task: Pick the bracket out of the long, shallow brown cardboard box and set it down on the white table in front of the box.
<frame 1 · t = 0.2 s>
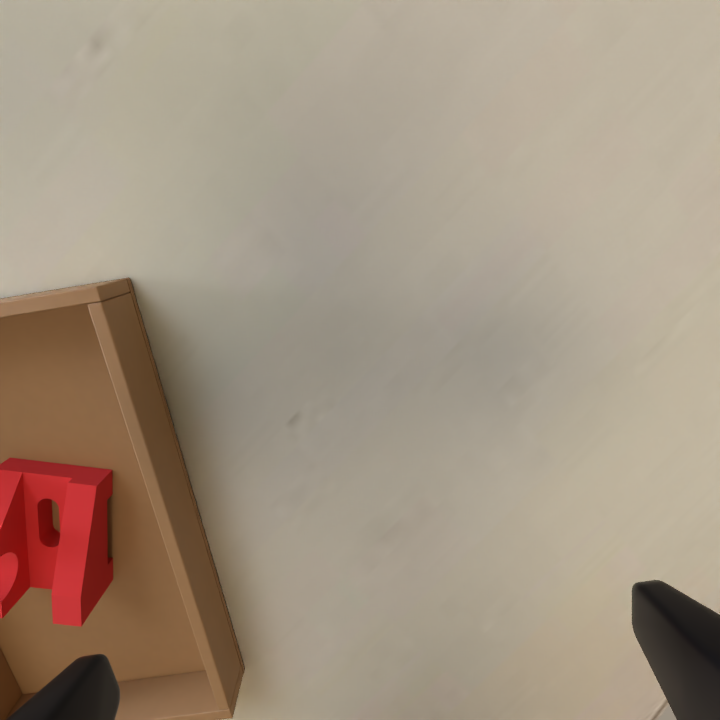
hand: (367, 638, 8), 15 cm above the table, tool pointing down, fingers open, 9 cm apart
cardboard box: (67, 517, 24), on the table
bracket: (66, 518, 24), resting in cardboard box
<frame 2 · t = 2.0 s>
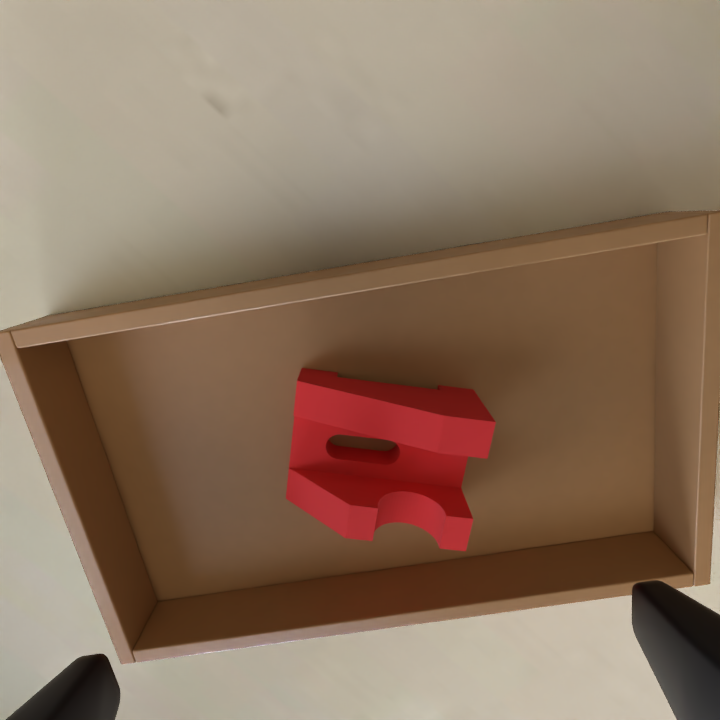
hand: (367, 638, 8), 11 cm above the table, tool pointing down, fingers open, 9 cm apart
cardboard box: (378, 434, 19), on the table
bracket: (378, 435, 19), resting in cardboard box
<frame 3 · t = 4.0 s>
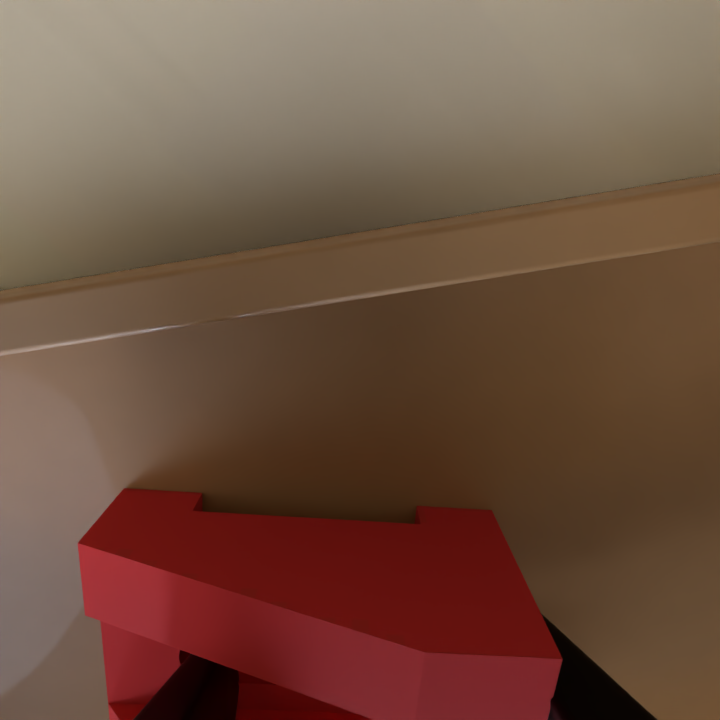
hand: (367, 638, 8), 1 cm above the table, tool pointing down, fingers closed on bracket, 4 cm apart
cardboard box: (357, 587, 9), on the table
bracket: (305, 602, 9), resting in cardboard box, touching gripper
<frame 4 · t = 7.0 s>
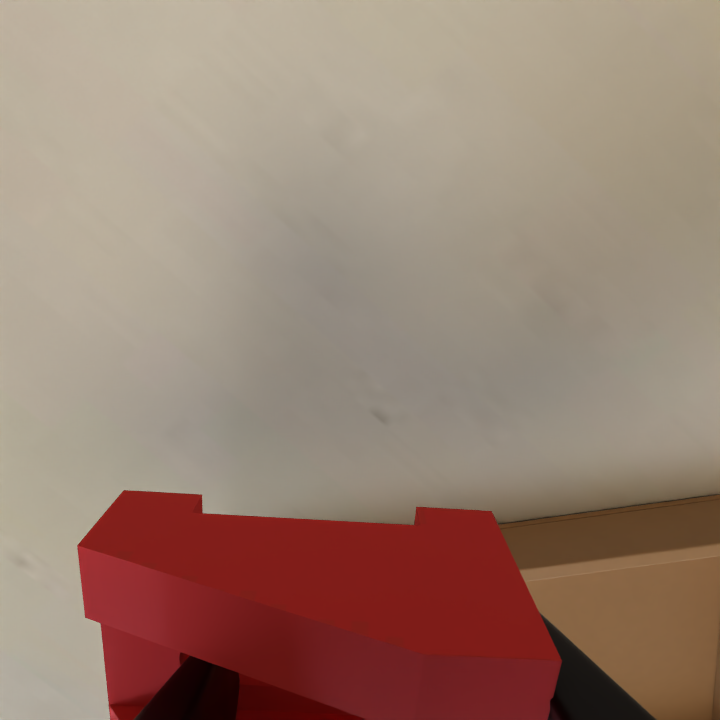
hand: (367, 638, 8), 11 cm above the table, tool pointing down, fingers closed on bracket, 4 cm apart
cardboard box: (487, 646, 23), on the table
bracket: (305, 603, 9), point 10 cm above the table, touching gripper
when the fingers open (1 cm above the table, at t = 10.0 s): bracket stays where it is, on the table.
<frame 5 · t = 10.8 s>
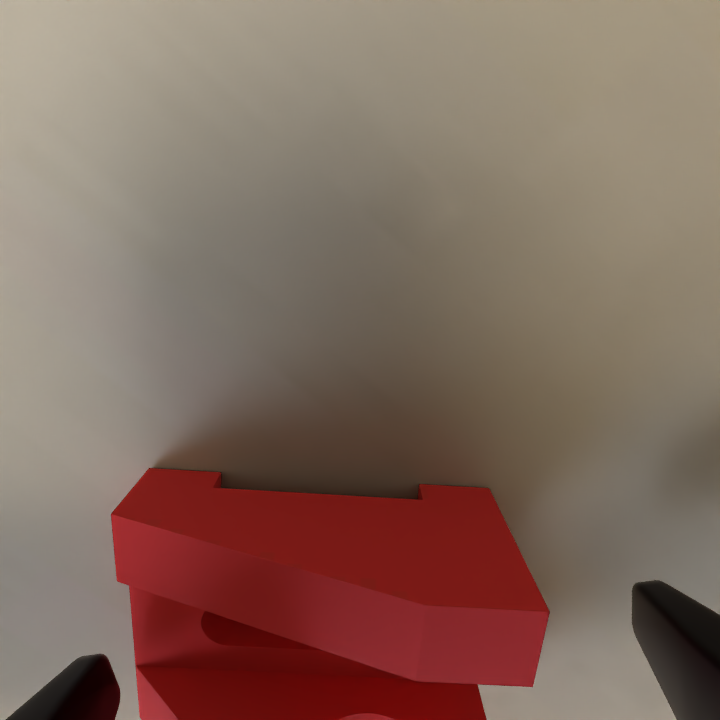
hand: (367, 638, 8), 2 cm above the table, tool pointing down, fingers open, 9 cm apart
bracket: (315, 576, 10), on the table
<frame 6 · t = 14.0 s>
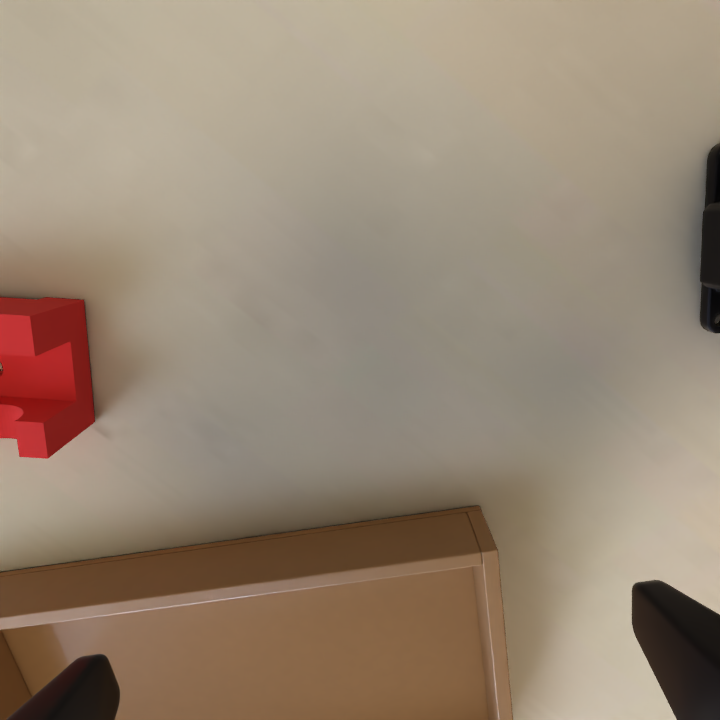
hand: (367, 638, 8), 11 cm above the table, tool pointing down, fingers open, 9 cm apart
cardboard box: (253, 660, 22), on the table
bracket: (6, 355, 18), on the table
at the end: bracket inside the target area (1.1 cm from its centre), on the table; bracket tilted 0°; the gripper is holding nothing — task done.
